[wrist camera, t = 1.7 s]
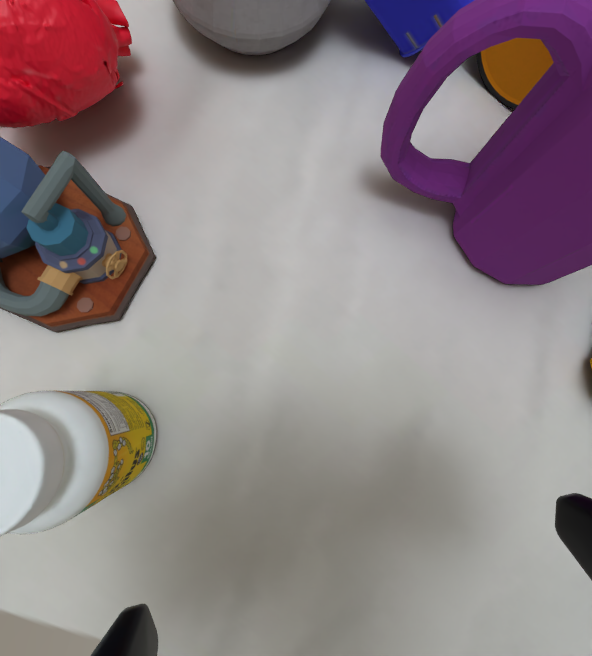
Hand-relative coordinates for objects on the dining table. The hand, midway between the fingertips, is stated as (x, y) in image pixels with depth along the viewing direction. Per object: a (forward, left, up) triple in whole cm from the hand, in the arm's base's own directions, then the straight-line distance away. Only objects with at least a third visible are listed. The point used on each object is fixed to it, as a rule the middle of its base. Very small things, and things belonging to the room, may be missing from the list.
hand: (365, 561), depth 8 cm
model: (+6, +19, -14) cm, 24 cm away
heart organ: (+14, +19, -6) cm, 24 cm away
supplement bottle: (-3, +11, -14) cm, 18 cm away
